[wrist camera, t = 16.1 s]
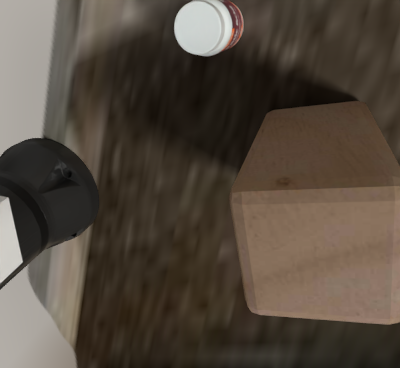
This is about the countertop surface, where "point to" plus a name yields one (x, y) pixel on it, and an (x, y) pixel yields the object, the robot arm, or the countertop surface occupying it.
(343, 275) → the wooden block
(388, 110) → the countertop surface
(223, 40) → the pill bottle
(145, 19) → the countertop surface
